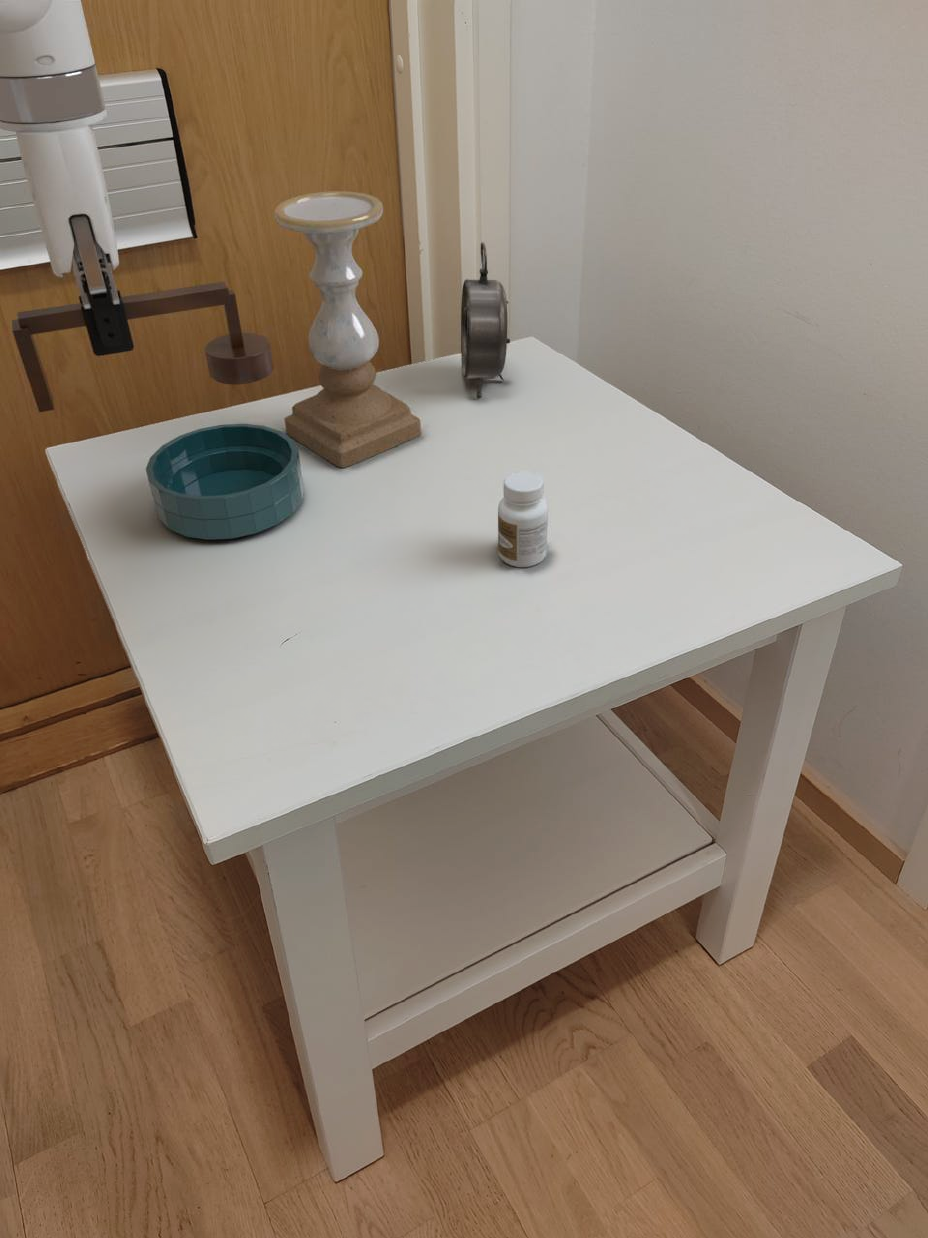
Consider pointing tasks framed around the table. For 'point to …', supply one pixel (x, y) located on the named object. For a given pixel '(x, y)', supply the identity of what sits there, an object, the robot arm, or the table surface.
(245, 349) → the ladle
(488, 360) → the alarm clock
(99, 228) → the robot arm
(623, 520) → the table surface
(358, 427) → the candle holder
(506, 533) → the pill bottle
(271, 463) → the bowl
